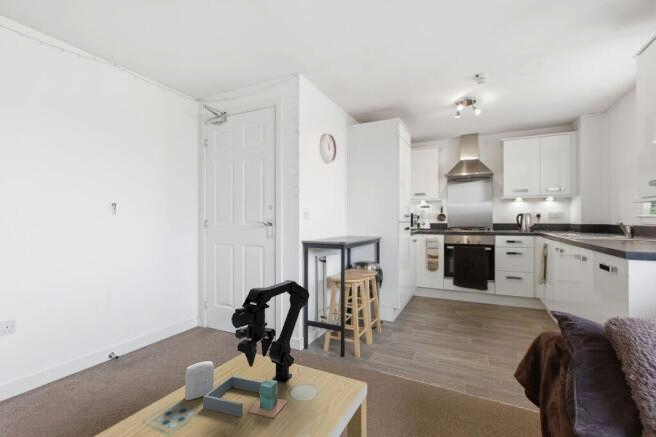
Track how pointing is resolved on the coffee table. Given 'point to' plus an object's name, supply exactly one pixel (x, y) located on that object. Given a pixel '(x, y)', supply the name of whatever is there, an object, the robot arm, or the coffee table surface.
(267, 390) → the teal block
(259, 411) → the terracotta mat
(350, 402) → the coffee table surface
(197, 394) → the photo printer
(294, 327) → the robot arm
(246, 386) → the open-front gray frame
